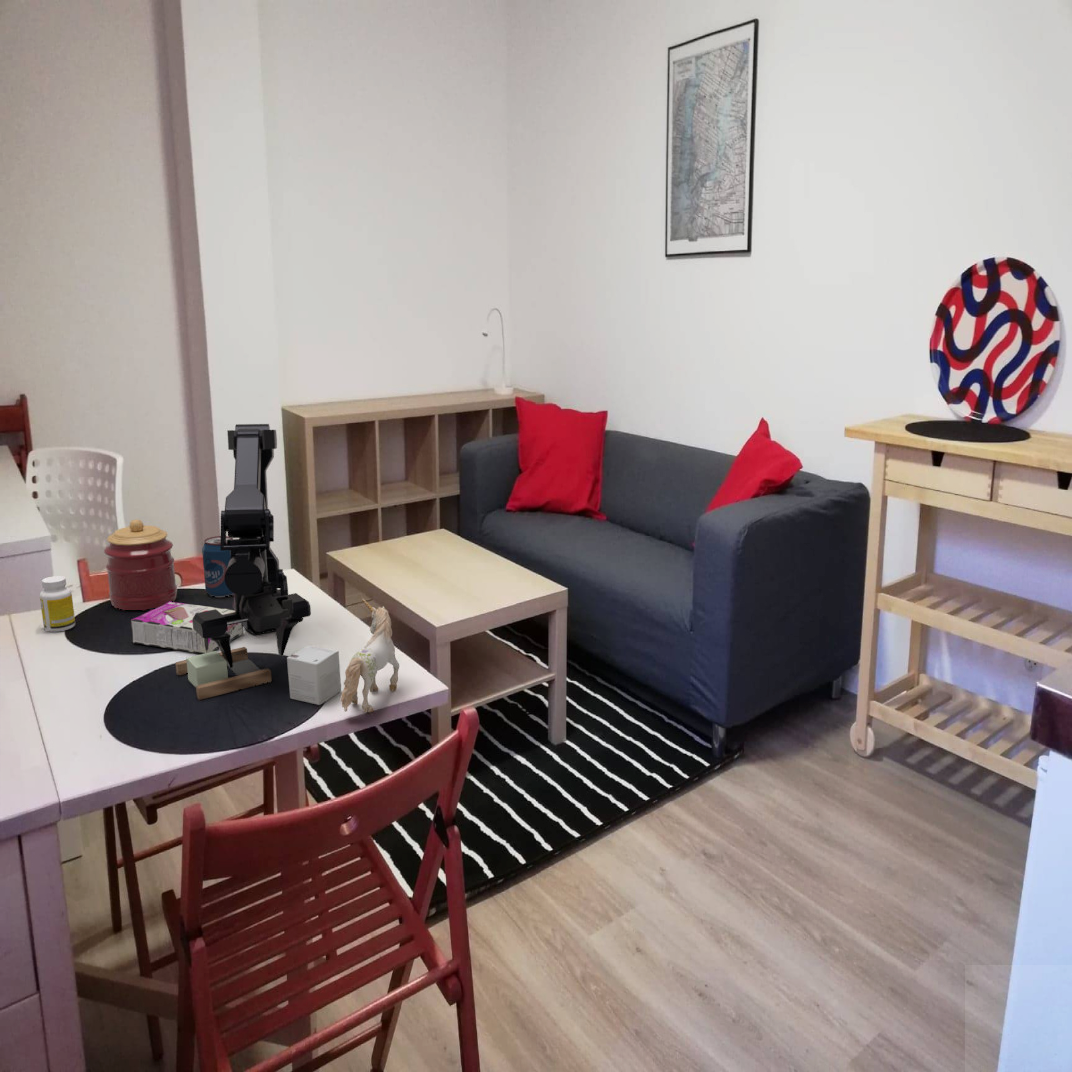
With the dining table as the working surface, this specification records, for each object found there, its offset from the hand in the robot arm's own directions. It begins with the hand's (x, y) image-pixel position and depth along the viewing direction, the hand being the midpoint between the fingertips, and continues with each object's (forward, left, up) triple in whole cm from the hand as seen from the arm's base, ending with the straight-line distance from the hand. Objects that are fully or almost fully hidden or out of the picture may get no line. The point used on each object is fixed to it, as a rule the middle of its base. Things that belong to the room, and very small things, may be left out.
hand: (256, 661), depth 154 cm
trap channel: (+6, 0, -2) cm, 6 cm away
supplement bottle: (+24, -40, -2) cm, 47 cm away
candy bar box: (+10, -27, +1) cm, 29 cm away
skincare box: (-4, +15, -2) cm, 16 cm away
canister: (+7, -46, -2) cm, 47 cm away
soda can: (-8, -42, -2) cm, 43 cm away
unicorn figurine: (-10, +19, -2) cm, 22 cm away
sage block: (+8, 0, -2) cm, 8 cm away
